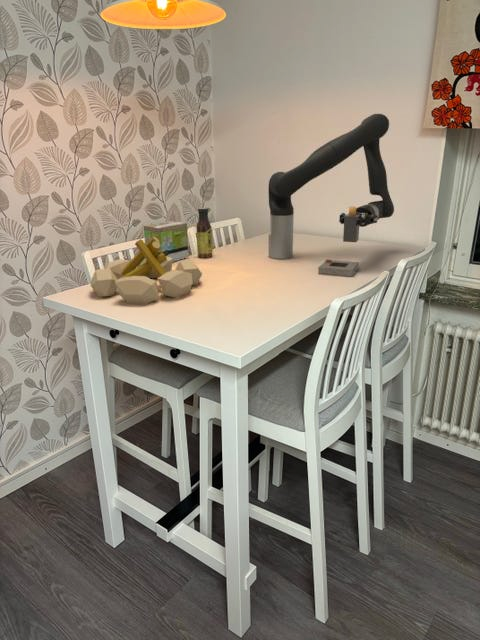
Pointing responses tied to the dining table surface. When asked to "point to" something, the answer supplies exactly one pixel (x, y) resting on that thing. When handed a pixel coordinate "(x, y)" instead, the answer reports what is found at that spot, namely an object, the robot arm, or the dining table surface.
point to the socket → (338, 268)
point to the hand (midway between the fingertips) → (349, 221)
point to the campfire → (145, 275)
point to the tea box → (169, 238)
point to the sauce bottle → (204, 234)
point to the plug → (351, 226)
